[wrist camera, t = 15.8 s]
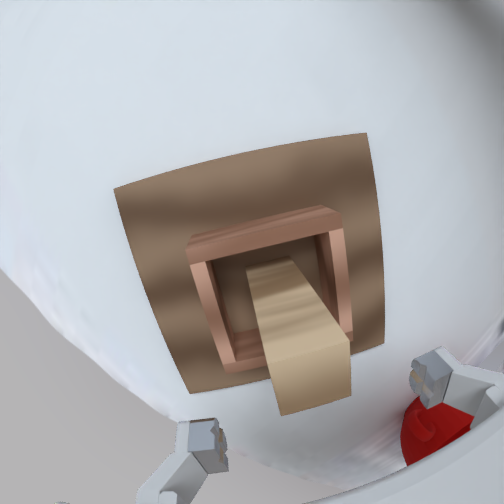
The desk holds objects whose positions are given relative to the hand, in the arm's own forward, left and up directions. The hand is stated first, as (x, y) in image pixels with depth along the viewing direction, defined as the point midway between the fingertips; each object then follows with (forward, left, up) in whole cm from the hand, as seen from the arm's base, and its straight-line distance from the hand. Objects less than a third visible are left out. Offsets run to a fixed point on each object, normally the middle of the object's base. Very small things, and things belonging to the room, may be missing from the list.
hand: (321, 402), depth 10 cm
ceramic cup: (+25, +17, -15) cm, 34 cm away
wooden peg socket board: (0, 0, -15) cm, 15 cm away
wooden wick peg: (0, 0, -14) cm, 14 cm away
